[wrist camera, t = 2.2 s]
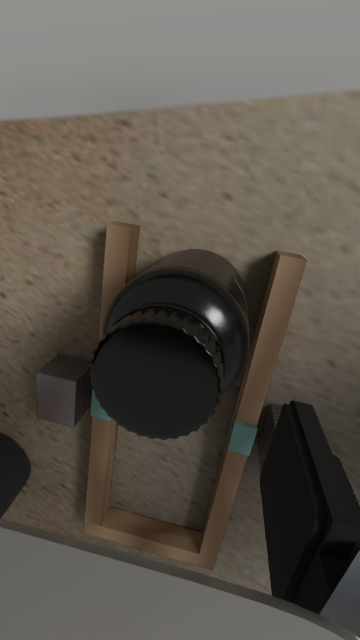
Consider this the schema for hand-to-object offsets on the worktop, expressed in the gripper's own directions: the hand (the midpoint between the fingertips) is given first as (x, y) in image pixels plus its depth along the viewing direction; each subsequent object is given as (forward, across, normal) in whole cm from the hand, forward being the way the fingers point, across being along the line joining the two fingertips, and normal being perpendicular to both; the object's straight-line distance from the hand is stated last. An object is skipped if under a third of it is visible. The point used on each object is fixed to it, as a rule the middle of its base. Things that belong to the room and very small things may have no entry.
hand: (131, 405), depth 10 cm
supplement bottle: (+13, -1, 0) cm, 13 cm away
